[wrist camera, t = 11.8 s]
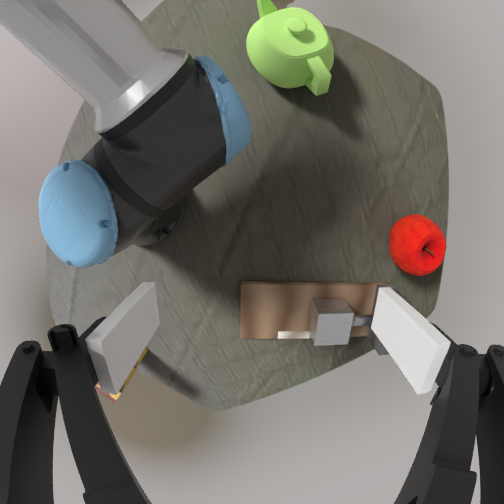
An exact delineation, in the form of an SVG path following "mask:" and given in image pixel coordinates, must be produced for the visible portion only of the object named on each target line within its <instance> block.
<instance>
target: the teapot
mask: <svg viewBox="0 0 504 504" xmlns="http://www.w3.org/2000/svg"><path fill="white" fill-rule="evenodd" d="M257 5H258V10H259V16H260V19H259V20H258V21H257V22H256V23H255V24H254V25H253V26H252V27H251V29H250V31H249V33H248V36H247V40H246V47H247V53H248V56H249V59H250V61H251V63H252V64H253V66H254V67H255V69H256V70H257V71H258V72H259V73H260V74H261V75H262V76H263V77H264V78H265V79H266V80H268V81H269V82H271V83H272V84H274V85H276V86H279V87H282V88H295V87H300V86H304V85H306V86H307V87H308V88H309V89H310V90H311V91H312V92H313V93H314V94H315V95H316V96H318V95H321V94H324V93H328V89H329V85H330V80H331V76H332V75H331V74H330V72H329V71H330V70H331V68H332V65H333V62H334V50H333V46H332V43H331V40H330V37H329V35H328V33H327V31H326V29H325V28H324V26H323V25H322V24H321V23H320V22H319V20H318V19H317V18H316V17H314V16H313V15H312V14H311V13H309V12H308V11H306V10H304V9H301V8H286V9H282V10H278V9H277V8H276V7H275V5H274V4H273V3H272V2H271V0H257Z"/></svg>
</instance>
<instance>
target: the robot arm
mask: <svg viewBox="0 0 504 504" xmlns="http://www.w3.org/2000/svg"><path fill="white" fill-rule="evenodd" d="M0 24H1V25H2V26H3V27H4V28H5V29H7V30H8V31H9V32H10V33H11V34H12V35H13V36H14V37H15V38H17V39H18V40H19V41H20V42H21V43H22V44H23V45H24V46H25V47H27V48H28V49H29V50H30V51H31V52H32V53H33V54H34V55H36V56H37V57H38V58H39V59H40V60H41V61H42V62H43V63H45V64H46V65H47V66H48V67H49V68H50V69H51V70H52V71H53V72H55V73H56V74H57V75H58V76H59V77H60V78H61V79H62V80H63V81H65V82H66V83H67V84H68V85H69V86H70V87H72V88H73V90H75V91H76V92H77V93H78V94H79V95H80V96H81V97H82V98H83V99H85V100H86V101H87V102H88V103H89V104H90V105H91V106H92V107H93V110H94V130H95V131H96V132H97V133H98V134H99V135H101V136H102V138H101V139H100V140H99V141H98V142H97V143H96V144H95V145H94V146H93V147H92V149H91V150H90V151H89V152H88V153H87V154H86V155H85V156H84V157H83V158H82V159H81V160H70V161H67V162H65V163H62V164H60V165H58V166H57V167H55V168H54V169H53V170H52V171H51V172H50V173H49V175H48V176H47V178H46V179H45V182H44V184H43V186H42V189H41V192H40V198H39V212H40V219H39V220H40V225H41V229H42V232H43V235H44V237H45V240H46V242H47V243H48V245H49V247H50V248H51V250H52V251H53V252H54V254H55V255H56V256H57V257H58V258H59V259H61V260H62V261H63V262H65V263H67V264H68V265H72V266H75V267H77V268H87V267H91V266H94V265H97V264H102V263H103V262H106V261H107V260H108V259H109V258H110V257H111V256H113V255H115V254H116V253H118V252H120V251H122V250H124V249H125V248H127V247H129V246H131V245H132V244H134V245H140V246H145V245H152V244H155V243H158V242H160V241H162V240H163V239H165V238H166V237H168V236H169V235H171V234H172V233H173V232H174V231H175V230H176V228H177V227H178V226H179V224H180V222H181V220H182V218H183V215H184V212H185V207H186V194H187V193H188V192H189V191H191V190H192V189H193V188H194V187H196V186H197V185H198V184H199V183H201V182H202V181H203V180H205V179H206V178H207V177H208V176H210V175H211V174H212V173H214V172H215V171H216V170H218V169H219V168H220V167H224V166H226V165H227V164H228V163H229V161H230V160H231V159H232V158H233V157H234V156H235V155H237V154H238V153H239V152H241V151H242V150H243V149H244V148H245V147H246V146H247V145H248V144H249V142H250V139H251V136H252V128H251V123H250V120H249V117H248V114H247V111H246V109H245V107H244V105H243V102H242V100H241V99H240V97H239V95H238V93H237V91H236V89H235V88H234V86H233V85H232V83H231V82H229V81H228V80H227V77H226V75H225V73H224V72H223V70H222V69H221V68H220V66H219V65H218V64H217V63H216V62H215V61H214V60H213V59H211V58H210V57H208V56H205V55H202V56H200V57H198V56H197V57H195V58H194V59H193V58H192V57H191V56H190V54H189V53H188V52H187V51H186V49H183V48H171V47H165V46H162V45H161V44H160V43H159V42H158V41H157V40H156V38H155V37H154V36H153V35H152V34H151V33H150V31H149V30H148V29H147V28H146V27H145V26H144V25H143V23H142V22H141V21H140V20H139V19H138V18H137V17H136V16H135V15H134V13H133V12H132V11H131V10H130V9H129V8H128V7H127V6H126V5H125V4H124V3H123V2H122V0H0ZM159 325H160V321H159V313H158V305H157V295H156V285H155V283H154V282H143V283H142V284H141V285H139V286H138V287H137V288H136V289H135V290H134V291H133V292H132V293H131V294H130V295H129V296H128V297H127V298H126V299H125V300H124V301H123V302H122V303H121V304H120V305H119V306H118V307H117V308H116V309H115V310H114V311H113V312H112V313H111V314H110V315H109V316H108V317H102V318H100V319H98V320H96V321H95V322H94V323H93V324H92V325H91V327H89V328H88V329H87V331H85V332H84V333H83V334H82V335H81V336H80V337H79V338H78V335H77V331H76V328H75V327H74V326H73V325H70V324H61V325H57V326H55V327H53V328H51V329H50V330H49V331H48V338H49V341H50V344H51V347H52V350H53V351H42V349H41V347H40V344H39V343H38V342H36V341H25V342H23V343H21V344H20V345H19V346H18V347H17V348H16V350H15V352H14V354H13V357H12V359H11V361H10V363H9V366H8V368H7V370H6V373H5V375H4V377H3V380H2V383H1V385H0V504H54V500H53V471H52V470H53V469H52V468H53V442H54V428H55V418H56V409H57V402H58V396H59V399H60V404H61V409H62V414H63V419H64V423H65V427H66V431H67V435H68V439H69V442H70V446H71V449H72V453H73V456H74V459H75V462H76V465H77V468H78V471H79V474H80V477H81V480H82V482H83V485H84V488H85V493H83V498H84V501H85V504H152V503H151V502H150V500H149V499H148V498H147V496H146V494H145V493H144V491H143V489H142V488H141V486H140V484H139V483H138V481H137V479H136V477H135V476H134V474H133V472H132V470H131V469H130V467H129V465H128V463H127V461H126V459H125V457H124V455H123V453H122V451H121V449H120V447H119V445H118V443H117V441H116V439H115V437H114V435H113V432H112V430H111V428H110V426H109V423H108V421H107V418H106V416H105V413H104V411H103V408H102V406H101V403H100V400H99V398H98V395H97V392H96V390H95V386H96V384H97V383H98V382H99V384H100V387H101V390H102V392H106V393H110V394H114V395H117V394H118V392H119V391H120V389H121V387H122V385H123V384H124V382H125V380H126V379H127V377H128V375H129V374H130V372H131V370H132V369H133V367H134V365H135V364H136V362H137V361H138V359H139V357H140V356H141V354H142V352H143V351H144V349H145V348H146V346H147V344H148V343H149V341H150V339H151V338H152V336H153V335H154V333H155V331H156V330H157V328H158V327H159ZM371 329H372V330H373V332H374V333H375V334H376V336H377V337H378V338H379V340H380V341H381V343H382V344H383V345H384V347H385V348H386V350H387V351H388V352H389V354H390V355H391V357H392V358H393V359H394V361H395V362H396V364H397V365H398V367H399V368H400V370H401V371H402V372H403V374H404V375H405V377H406V378H407V380H408V381H409V383H410V384H411V386H412V387H413V389H414V390H415V392H416V393H417V395H420V394H424V393H428V392H430V391H431V389H432V387H433V385H434V383H435V382H436V383H437V385H438V386H439V387H438V389H437V391H436V393H435V395H434V397H433V399H432V401H431V403H430V405H432V404H433V405H432V409H431V412H430V416H429V419H428V423H427V426H426V429H425V432H424V435H423V438H422V441H421V444H420V446H419V449H418V452H417V454H416V457H415V459H414V462H413V464H412V467H411V469H410V472H409V474H408V476H407V478H406V481H405V483H404V485H403V487H402V489H401V492H400V493H399V495H398V497H397V499H396V501H395V503H394V504H471V500H472V496H473V492H474V488H475V484H476V477H477V474H476V472H473V471H470V466H471V461H472V456H473V450H474V443H475V436H476V437H477V445H478V453H479V465H480V487H481V503H480V504H504V347H503V346H501V345H491V346H490V347H489V349H488V351H487V353H486V354H478V352H477V350H476V349H475V348H473V347H472V346H469V345H465V344H460V345H457V344H456V343H455V342H454V341H452V339H450V338H449V337H448V336H447V335H445V333H444V332H443V331H441V329H440V328H438V327H437V326H436V325H435V324H433V323H431V322H429V321H427V320H426V319H425V318H424V317H423V316H422V315H421V314H420V313H419V312H417V311H416V310H415V309H414V308H413V307H412V306H411V305H410V304H408V303H407V302H406V301H405V300H404V299H403V298H402V297H400V296H399V295H398V294H397V293H396V292H395V291H393V290H392V289H391V288H390V287H382V288H379V291H378V296H377V302H376V307H375V312H374V316H373V321H372V325H371ZM492 389H493V390H492Z"/></svg>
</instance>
